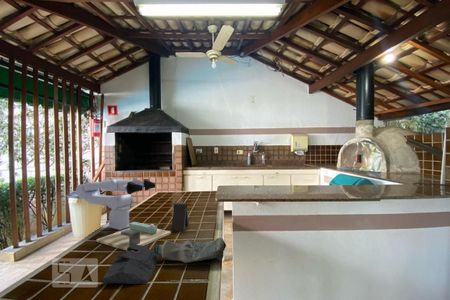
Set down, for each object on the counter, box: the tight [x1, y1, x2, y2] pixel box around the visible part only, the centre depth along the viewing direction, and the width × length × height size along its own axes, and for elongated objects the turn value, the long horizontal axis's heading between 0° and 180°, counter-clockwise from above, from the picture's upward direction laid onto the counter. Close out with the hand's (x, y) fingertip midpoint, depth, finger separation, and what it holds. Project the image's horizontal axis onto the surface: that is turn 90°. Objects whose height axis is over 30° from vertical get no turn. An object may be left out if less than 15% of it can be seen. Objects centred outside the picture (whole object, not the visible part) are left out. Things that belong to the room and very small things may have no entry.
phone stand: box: [171, 202, 190, 232], centre depth 120 cm, size 9×6×12 cm, turn 173°
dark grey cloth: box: [102, 244, 161, 285], centre depth 80 cm, size 15×22×5 cm
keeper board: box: [96, 227, 172, 251], centre depth 107 cm, size 21×22×6 cm
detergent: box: [153, 237, 227, 264], centre depth 86 cm, size 13×7×25 cm
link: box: [128, 221, 158, 234], centre depth 113 cm, size 16×4×3 cm, turn 60°
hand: (148, 186), depth 113 cm, fingers open, 7 cm apart
